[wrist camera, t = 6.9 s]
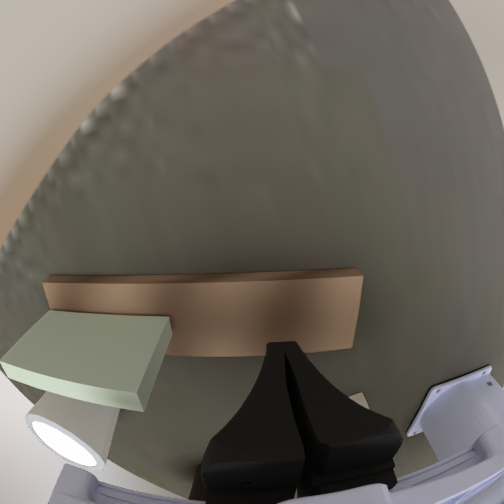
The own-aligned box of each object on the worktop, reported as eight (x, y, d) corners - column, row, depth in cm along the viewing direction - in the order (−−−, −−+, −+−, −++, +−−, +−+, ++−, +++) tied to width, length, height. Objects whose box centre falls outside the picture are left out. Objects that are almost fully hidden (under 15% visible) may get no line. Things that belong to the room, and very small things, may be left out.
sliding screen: (169, 316, 15) (136, 392, 9) (172, 334, 15) (144, 411, 10) (49, 310, 15) (-1, 360, 9) (54, 325, 15) (8, 377, 10)
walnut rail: (356, 267, 16) (363, 275, 15) (346, 337, 17) (351, 347, 16) (51, 275, 16) (42, 282, 15) (70, 336, 17) (63, 344, 16)
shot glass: (92, 348, 18) (50, 412, 11) (145, 407, 20) (123, 473, 13) (48, 364, 19) (12, 415, 12) (96, 416, 21) (72, 469, 14)
